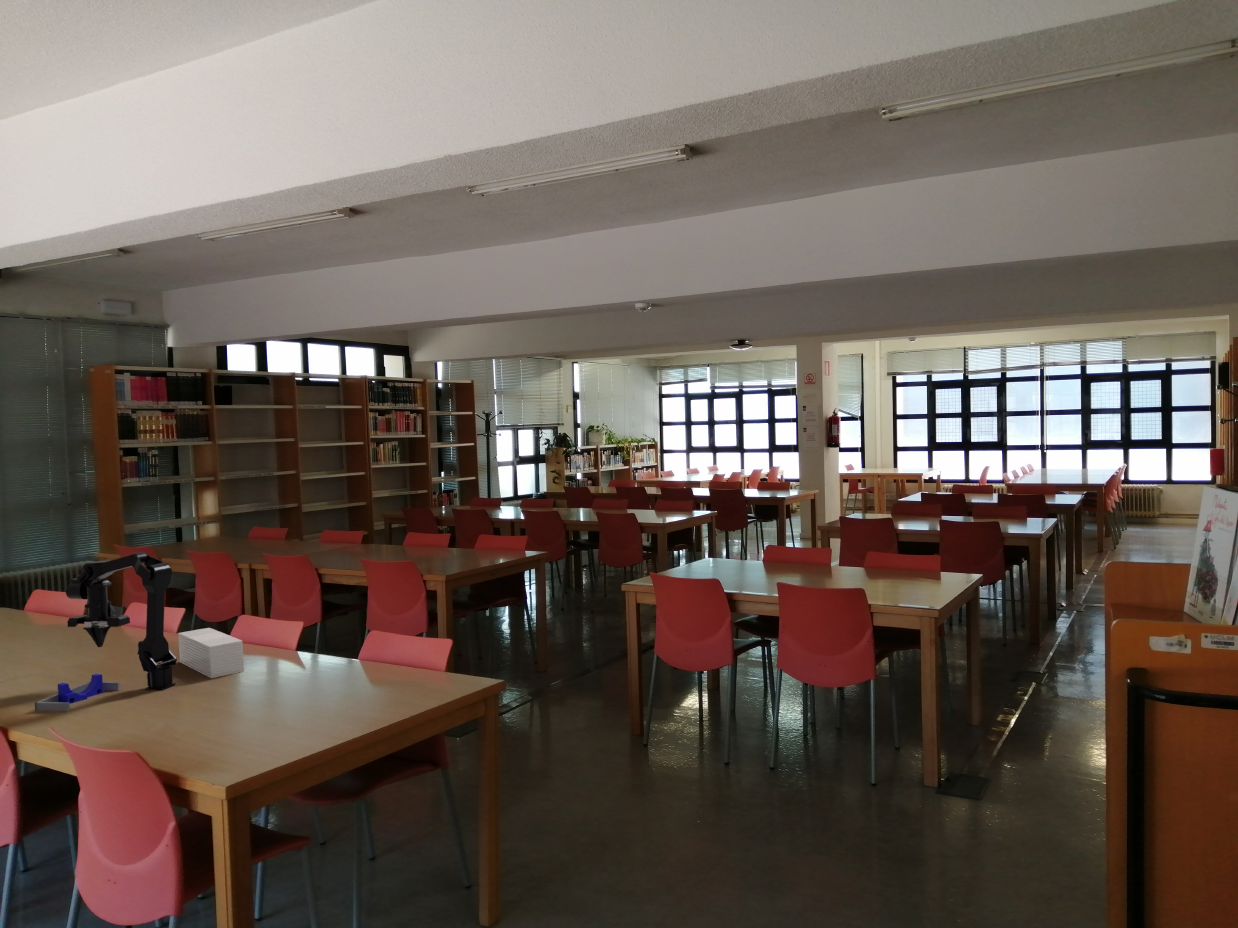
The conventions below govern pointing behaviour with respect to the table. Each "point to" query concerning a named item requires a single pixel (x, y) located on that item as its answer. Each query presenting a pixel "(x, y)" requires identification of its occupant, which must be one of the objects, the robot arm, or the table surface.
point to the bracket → (55, 705)
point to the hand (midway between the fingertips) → (100, 646)
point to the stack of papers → (211, 652)
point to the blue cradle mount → (91, 690)
